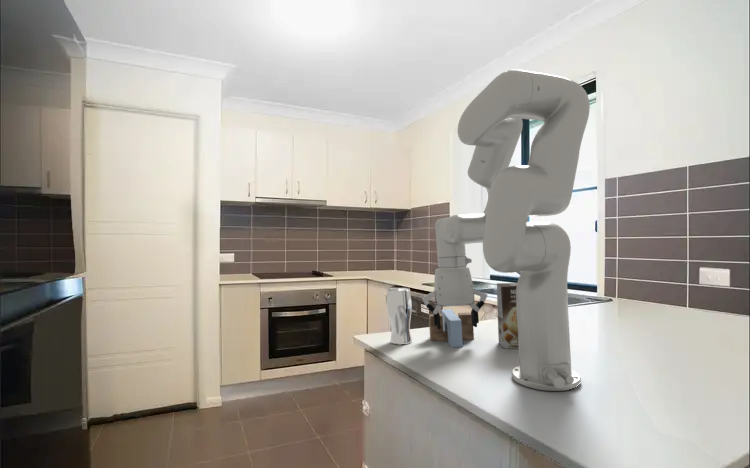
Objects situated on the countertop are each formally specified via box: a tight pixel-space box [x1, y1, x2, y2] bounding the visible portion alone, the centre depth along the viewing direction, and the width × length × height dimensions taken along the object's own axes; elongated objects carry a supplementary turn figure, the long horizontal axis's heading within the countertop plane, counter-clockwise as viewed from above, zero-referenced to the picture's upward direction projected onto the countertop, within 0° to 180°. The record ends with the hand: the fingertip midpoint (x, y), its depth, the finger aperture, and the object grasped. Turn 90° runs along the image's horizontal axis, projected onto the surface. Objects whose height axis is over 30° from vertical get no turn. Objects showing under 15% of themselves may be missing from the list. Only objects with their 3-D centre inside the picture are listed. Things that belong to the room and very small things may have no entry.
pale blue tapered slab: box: [440, 308, 464, 348], centre depth 111 cm, size 16×3×7 cm, turn 178°
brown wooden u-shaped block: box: [428, 311, 475, 342], centre depth 111 cm, size 12×3×7 cm, turn 89°
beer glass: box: [386, 287, 413, 346], centre depth 111 cm, size 7×7×15 cm
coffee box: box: [496, 282, 519, 350], centre depth 102 cm, size 9×6×16 cm
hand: (456, 327), depth 104 cm, fingers open, 9 cm apart
